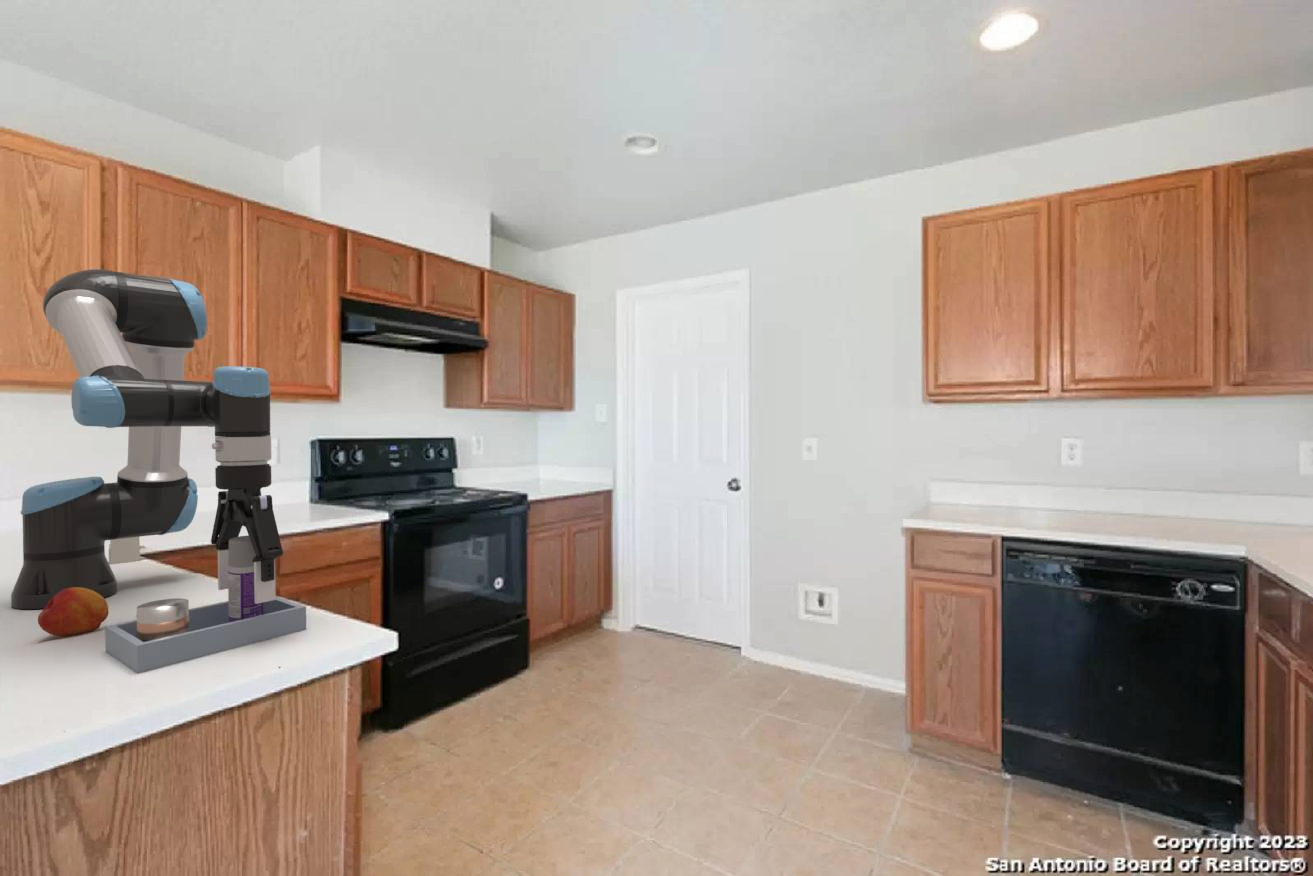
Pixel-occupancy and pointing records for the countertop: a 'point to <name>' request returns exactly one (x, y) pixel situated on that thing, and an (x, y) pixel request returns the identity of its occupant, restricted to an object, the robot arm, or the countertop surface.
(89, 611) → the fruit
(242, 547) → the container
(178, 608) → the tin
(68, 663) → the countertop surface
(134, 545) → the architectural model
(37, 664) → the countertop surface
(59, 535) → the robot arm
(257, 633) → the tray
